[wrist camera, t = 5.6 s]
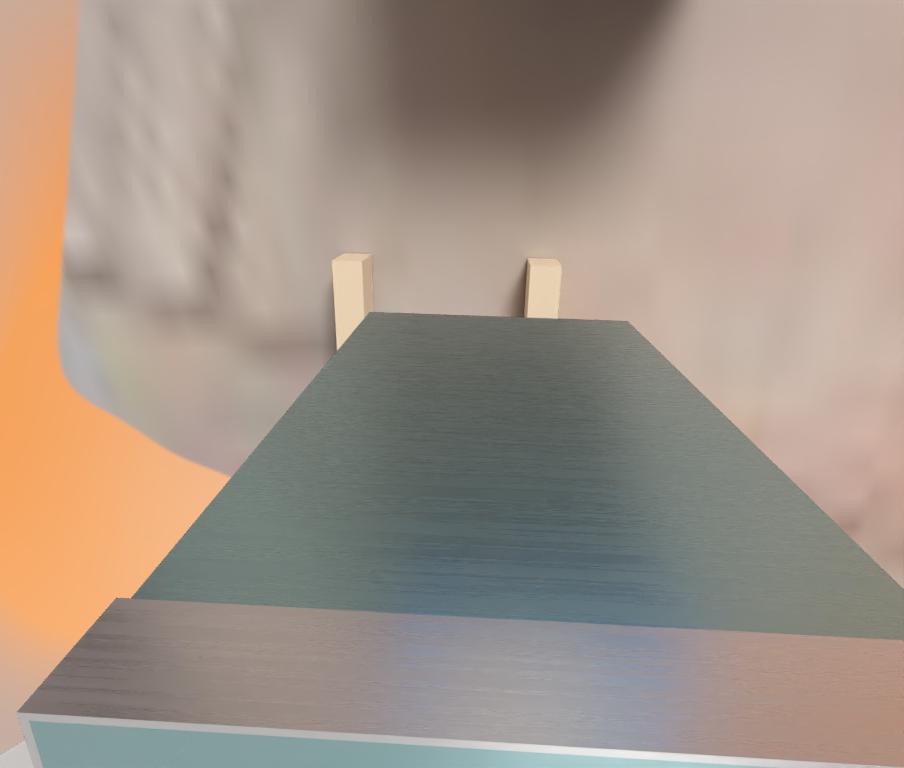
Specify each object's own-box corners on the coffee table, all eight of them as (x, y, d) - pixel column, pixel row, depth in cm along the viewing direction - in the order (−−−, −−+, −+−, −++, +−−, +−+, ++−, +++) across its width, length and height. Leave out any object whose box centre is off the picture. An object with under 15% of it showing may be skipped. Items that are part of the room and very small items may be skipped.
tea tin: (630, 318, 11) (1122, 781, 3) (590, 619, 13) (776, 1365, 5) (366, 309, 11) (15, 711, 3) (374, 607, 14) (200, 1308, 5)
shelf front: (765, 264, 24) (795, 275, 21) (723, 462, 27) (745, 491, 25) (344, 253, 25) (328, 262, 22) (353, 445, 28) (341, 471, 25)
